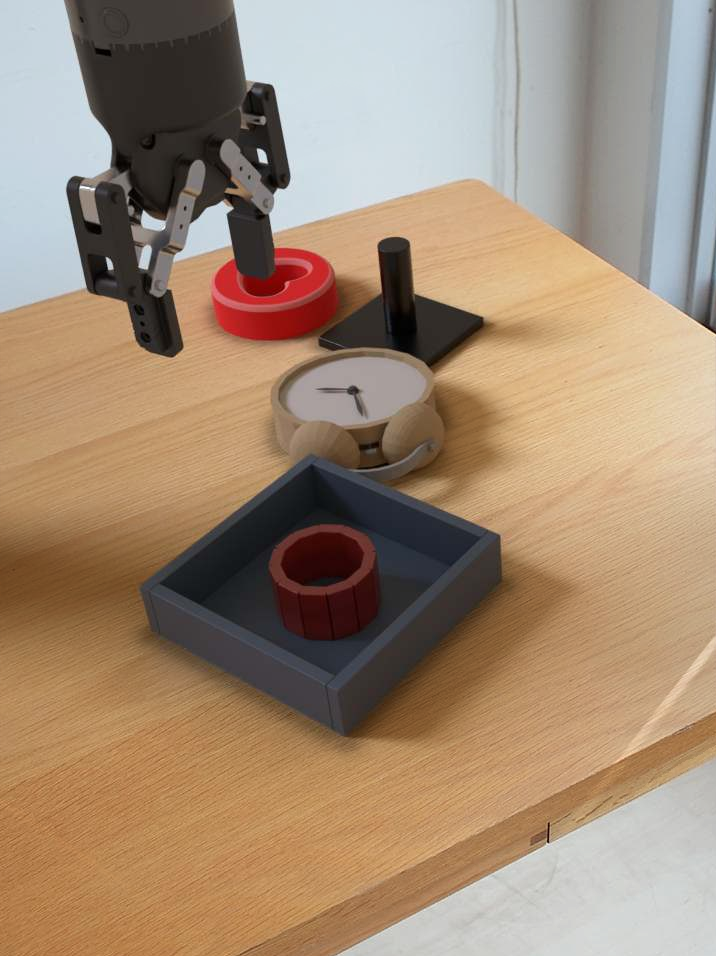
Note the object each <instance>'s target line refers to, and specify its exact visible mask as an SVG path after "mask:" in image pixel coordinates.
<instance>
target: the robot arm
mask: <svg viewBox="0 0 716 956" xmlns="http://www.w3.org/2000/svg"><path fill="white" fill-rule="evenodd" d="M63 2H64V6H65V7H64V8H65V12H66V15H67V20H68V24H69V29H70V33H71V37H72V41H73V45H74V49H75V53H76V56H77V62H78V65H79V69H80V73H81V78H82V82H83V86H84V90H85V96H86V99H87V103H88V107H89V110H90V113H91V114H92V115H93V117H94V118H95V119H96V121H97V122H98V123H99V124H100V125H101V126H102V128H103V129H104V130H105V132H106V133H107V136H109V139H110V143H111V155H110V162H109V163H110V164H109V169H107V170H105V171H103V172H101V173H99V174H98V175H95V176H93V177H85V176H79V175H73V176H72V177H70V178H69V179H68V181H67V183H66V186H65V193H66V197H67V203H68V207H69V212H70V216H71V217H70V218H71V221H72V226H73V231H74V236H75V241H76V245H77V250H78V253H79V259H80V264H81V269H82V273H83V277H84V283H85V287H86V290H87V292H88V293H89V294H90V295H93V296H94V295H95V296H98V297H105V298H109V299H113V300H117V301H121V302H123V303H126V305H127V306H126V307H127V309H128V313H129V318H130V322H131V324H132V331H133V334H134V338H135V341H136V343H137V344H138V346H139V348H141V349H142V348H143V349H144V350H145V351H147V352H148V353H149V354H150V353H151V354H153V355H154V354H155V355H159V356H162V357H166V358H170V359H172V358H175V357H176V356H177V355H178V354H179V353H180V352H182V351H183V350H184V347H185V346H184V341H183V336H182V332H181V331H182V330H181V326H180V323H179V318H178V312H177V310H176V303H175V300H174V296H173V290H172V289H168V285H169V281H170V277H171V272H172V268H173V263H174V259H175V256H176V255H177V254H178V253H181V252H183V250H184V249H185V246H186V244H187V238H188V234H189V230H190V225H192V224H193V223H194V222H196V221H197V220H198V219H199V218H200V217H201V216H202V215H203V214H204V212H205V211H206V210H207V208H211V207H215V206H218V205H219V204H220V203H221V202H222V203H224V204H225V205H226V206H227V207H229V208H232V209H231V210H230V211H228V212H226V219H227V224H228V231H229V237H230V241H231V247H232V253H233V258H235V264H236V268H237V270H238V271H239V272H240V273H241V274H242V275H245V276H249V277H253V278H258V279H262V280H266V279H267V278H269V277H270V276H271V275H272V274H274V273H275V270H276V268H275V261H274V257H275V248H276V247H275V243H274V236H273V230H272V225H271V217H270V213H272V211H273V209H274V206H275V197H274V195H275V194H276V193H277V190H278V189H279V190H286V189H287V188H288V187H289V185H290V183H291V169H290V163H289V159H288V154H287V147H286V142H285V137H284V132H283V127H282V126H283V125H282V121H281V117H280V110H279V105H278V100H277V94H276V89H275V87H274V86H273V85H272V84H271V83H265V82H259V81H253V80H247V78H246V70H245V66H244V58H243V53H242V47H241V40H240V35H239V28H238V27H239V26H238V22H237V16H236V10H235V3H234V0H63ZM258 150H261V151H263V152H264V154H265V157H266V161H267V163H266V162H262V161H260V157H259V151H258ZM144 212H145V214H147V215H148V216H149V217H151V218H152V219H155V220H158V221H161V222H162V221H163V222H165V223H164V225H163V227H162V228H161V229H159V230H156V229H155V230H154V229H151V228H146V227H143V224H142V219H143V213H144ZM147 246H149V247H150V249H151V252H150V257H149V260H148V266H147V269H145V268H142V267H140V262H141V257H142V253H143V250H144V248H145V247H147ZM108 259H109V261H110V262H111V264H112V268H111V269H109V267H108V261H107V260H108Z"/></svg>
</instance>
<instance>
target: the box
mask: <svg viewBox="0 0 716 956" xmlns="http://www.w3.org/2000/svg"><path fill="white" fill-rule="evenodd" d="M320 524H326V525H344V526H348V527H350V528H352V529H354V530H357V531H359V532H361V533H363V534H365V535H366V536H368V538H369V539H370V541H371V543H372V544H373V546H374V548H375V549H376V553H377V562H378V570H379V578H380V587H381V595H382V598H381V603H380V607H379V612H378V614H377V616H376V617H375V618H374V619H373V620H372V621H371V622H370V623H369V624H368V625H367V626H366V627H365V628H364V629H362V630H361V631H360V630H359V632H357V633H355V634H352V635H349V636H346V637H343V638H340V639H337V640H335V639H334V638H333V640H332V641H328V640H308V639H307V638H306V639H304V638H302V637H300V636H298V635H296V634H294V633H292V632H291V631H289V630H287V629H286V628H285V627H284V626H283V624H282V622H281V620H280V618H279V616H278V614H277V610H276V605H275V600H274V595H273V589H272V584H271V579H270V574H269V566H268V565H269V562H270V559H271V556H272V553H273V550H274V549H275V547H276V546H277V545H278V544H279V543H281V542H282V541H283V540H284V539H285V538H287V537H288V536H289V535H290V534H294V532H296V531H299V530H302V529H305V528H309V527H312V526H315V525H318V526H319V525H320ZM502 570H503V565H502V542H501V534H500V533H497V532H495V531H492V530H490V529H488V528H485V527H484V526H481V525H478V524H477V523H474V522H472V521H470V520H468V519H465V518H463V517H460V516H458V515H456V514H453V513H451V512H448V511H446V510H443V509H442V508H439V507H437V506H434V505H432V504H429V503H427V502H426V501H423V500H420V499H418V498H416V497H413V496H412V495H409V494H406V493H404V492H402V491H400V490H397V489H395V488H392V487H391V486H388V485H387V484H386V485H385V484H383V483H382V482H381V483H379V482H376V481H374V480H372V479H369V478H367V477H365V476H362V475H360V474H358V473H355V472H353V471H351V470H348V469H346V468H344V467H341V466H339V465H337V464H334V463H332V462H330V461H327V460H325V459H323V458H320V457H318V456H316V455H313V454H311V453H310V454H309V455H308V456H306V457H305V458H304V459H302V460H301V461H300V462H299V463H297V464H296V465H295V466H293V465H292V467H290V468H289V469H288V470H287V471H286V472H284V473H283V474H282V475H281V476H279V477H278V478H277V479H275V480H274V481H273V482H272V483H270V484H268V485H267V486H266V487H264V489H262V490H261V491H259V492H258V493H257V494H256V495H254V496H253V497H251V499H249V500H248V501H246V503H244V504H243V505H242V506H240V507H239V508H238V509H237V510H235V511H234V512H232V513H231V514H230V515H228V516H227V517H226V518H225V519H223V520H222V521H221V522H220V523H218V524H217V525H216V526H214V527H213V528H212V529H210V530H209V531H207V532H206V533H205V534H204V535H203V536H201V537H200V538H199V539H198V540H196V541H195V542H193V543H192V544H191V545H190V546H189V547H187V548H186V549H185V550H183V551H182V552H180V553H179V555H177V556H176V557H174V558H173V559H172V560H171V561H169V562H168V563H166V564H165V565H163V566H162V567H161V568H160V569H159V570H158V571H156V572H155V573H154V574H153V575H151V576H150V577H149V578H147V579H146V580H145V581H143V582H142V583H141V584H139V591H140V594H141V598H142V601H143V606H144V609H145V612H146V616H147V619H148V623H149V627H150V630H151V632H153V633H154V634H156V635H158V636H160V637H161V638H164V639H165V640H167V641H169V642H171V643H173V644H175V645H176V646H178V647H180V648H181V649H184V650H185V651H187V652H189V653H190V654H193V655H194V656H196V657H198V658H200V659H201V660H203V661H206V662H207V663H209V664H210V665H213V666H214V667H216V668H218V669H220V670H222V671H224V673H227V674H229V675H231V676H233V677H234V678H236V679H238V680H240V681H242V682H243V683H245V684H247V685H249V686H250V687H252V688H255V689H256V690H258V691H260V692H262V693H263V694H265V695H267V696H269V697H270V698H273V699H274V700H276V701H278V702H280V703H281V704H283V705H285V706H287V707H289V708H290V709H292V710H294V711H296V712H298V713H300V714H301V715H303V716H305V717H307V718H309V719H311V720H312V721H314V722H316V723H318V724H320V725H322V726H324V727H325V728H327V729H329V730H331V731H332V732H334V733H335V734H338V735H340V737H343V738H346V737H348V735H349V734H350V733H352V731H353V730H354V729H355V728H356V727H357V726H358V725H359V724H360V723H361V722H363V720H364V719H365V718H367V716H368V715H369V714H370V713H371V712H372V711H373V710H375V708H376V707H378V705H379V704H380V703H381V702H382V701H383V700H384V699H385V698H386V697H387V696H388V695H389V694H390V693H391V692H392V691H394V689H396V687H397V686H398V685H399V684H400V683H401V682H402V681H403V680H404V679H405V678H406V677H407V676H408V675H409V674H410V673H411V672H412V671H413V670H414V669H415V668H416V667H417V666H418V665H419V664H420V663H421V662H422V661H423V660H424V659H425V658H426V657H427V656H428V655H429V654H430V653H431V652H432V651H433V650H434V649H435V648H436V647H437V646H439V644H440V643H442V641H443V640H444V639H445V638H446V637H448V635H449V634H450V633H451V632H452V631H453V630H454V629H455V628H456V627H458V625H459V624H460V623H461V622H462V621H463V620H464V619H465V618H466V617H468V615H470V613H471V612H472V611H473V610H474V609H475V608H476V607H477V606H478V605H479V604H480V603H481V602H482V601H483V600H484V599H485V598H486V597H487V596H488V595H489V594H490V593H491V592H492V591H493V590H494V589H495V588H496V587H497V586H498V585H499V584H500V583H501V582H502V581H503V571H502ZM347 579H348V578H342V577H324V578H321V579H318V580H315V581H312V582H309V583H306V584H305V585H304V586H316V587H327V586H330V585H333V584H336V583H339V582H342V581H345V580H347Z"/></svg>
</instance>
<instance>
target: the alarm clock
mask: <svg viewBox="0 0 716 956" xmlns="http://www.w3.org/2000/svg"><path fill="white" fill-rule="evenodd" d="M435 390H436V385H435V378H434V372H433V371H432V370H431V368H428V366H427V365H426V364H425V363H424V362H423V361H421V360H419V359H417V358H415V357H413V356H411V355H409V354H407V353H403V352H398V351H394V350H390V349H381V348H353V349H343V350H337V351H329V352H325V353H321V354H316V355H314V356H312V357H309V358H307V359H305V360H303V361H300V362H297V363H295V364H294V365H293V366H291V367H289V368H288V369H287V370H286V371H284V372H283V373H281V374H280V375H279V376H278V377H277V379H276V380H275V382H274V384H273V385H272V386H271V388H270V400H269V403H270V407H271V408H272V414H273V421H274V426H275V431H276V433H275V436H276V439H277V442H278V443H279V445H280V447H281V449H282V450H283V452H284V453H286V454H287V455H289V457H290V460H291V463H292V467H293V466H295V465H296V464H297V463H299V462H300V461H301V460H302V459H304V458H305V457H306V456H308V455H309V454H310V453H311V454H313V455H316V456H318V457H320V458H323V459H325V460H327V461H330V462H332V463H334V464H337V465H339V466H341V467H344V468H346V469H348V470H351V471H353V472H355V473H358V474H360V475H362V476H365V477H367V478H369V479H372V480H374V481H376V482H379V483H381V484H382V483H384V482H388V481H391V480H395V479H398V478H400V477H403V476H405V475H406V474H408V473H410V472H414V471H418V470H421V469H423V468H425V467H427V466H428V465H429V464H431V463H432V462H433V461H434V460H435V459H436V458H437V456H438V455H439V453H440V452H441V449H442V447H443V444H444V441H445V426H444V423H443V420H442V418H441V416H440V415H439V413H438V412H437V411H438V410H437V405H436V395H435ZM386 463H387V464H388V465H386V466H381V467H377V468H376V467H375V466H380V465H384V464H386ZM372 467H375V468H372ZM362 468H363V469H362ZM364 468H369V469H364Z"/></svg>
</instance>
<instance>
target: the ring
mask: <svg viewBox="0 0 716 956" xmlns="http://www.w3.org/2000/svg"><path fill="white" fill-rule="evenodd" d="M268 566H269V574H270V579H271V584H272V589H273V595H274V600H275V605H276V610H277V614H278V616H279V618H280V620H281V622H282V624H283V626H284V627H285V628H286V629H287V630H289V631H291V632H292V633H294V634H296V635H298V636H300V637H302V638H304V639H306V638H307V639H308V640H328V641H332V640H333V638H334V639H335V640H337V639H340V638H343V637H346V636H349V635H352V634H355V633H357V632H359V630H360V631H361V630H362V629H364V628H365V627H366V626H367V625H368V624H369V623H370V622H371V621H372V620H373V619H374V618H375V617H376V616H377V614H378V612H379V607H380V603H381V598H382V595H381V587H380V578H379V570H378V562H377V553H376V549H375V548H374V546H373V544H372V543H371V541H370V539H369V538H368V536H366V535H365V534H363V533H361V532H359V531H357V530H354V529H352V528H350V527H348V526H344V525H326V524H320V525H319V526H318V525H315V526H312V527H309V528H305V529H302V530H299V531H296V532H294V534H290V535H289V536H288V537H287V538H285V539H284V540H283V541H282V542H281V543H279V544H278V545H277V546H276V547H275V549H274V550H273V553H272V556H271V559H270V562H269V565H268ZM324 577H342V578H348V579H347V580H345V581H342V582H339V583H336V584H333V585H330V586H327V587H316V586H304V585H305V584H306V583H309V582H312V581H315V580H318V579H321V578H324Z"/></svg>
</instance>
